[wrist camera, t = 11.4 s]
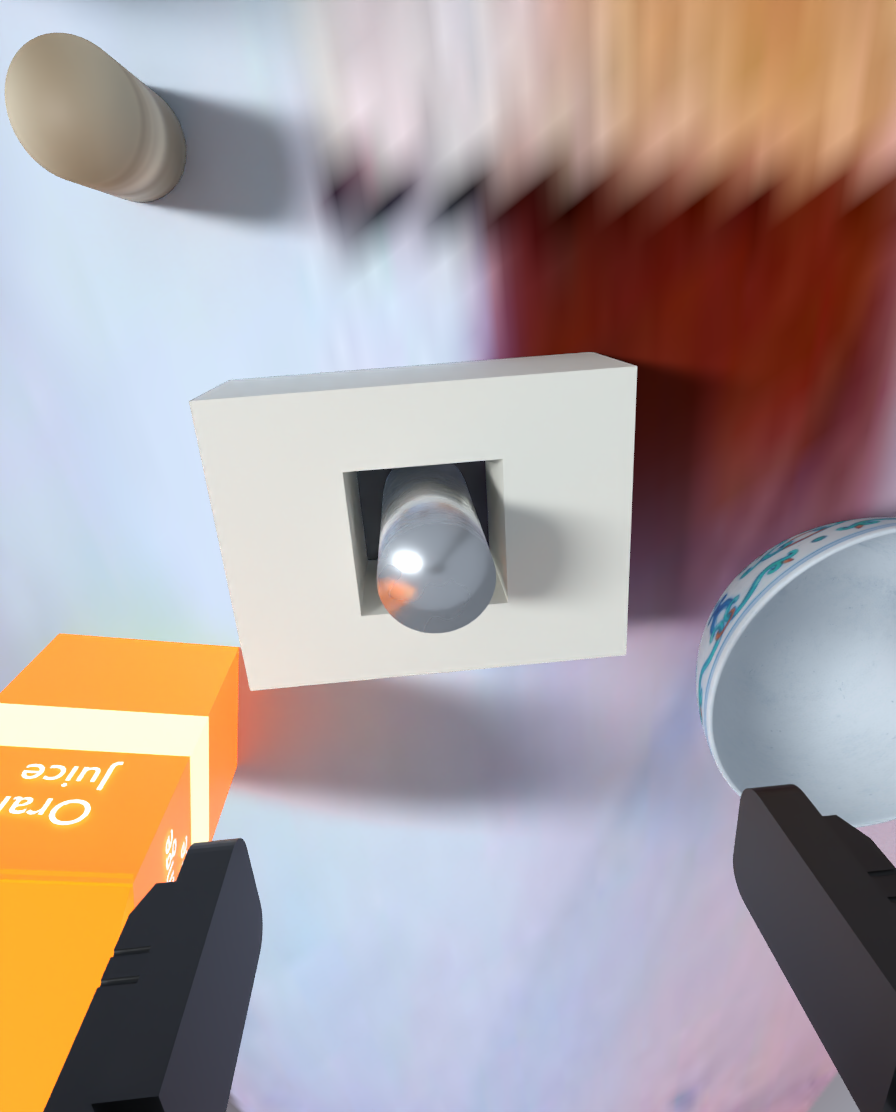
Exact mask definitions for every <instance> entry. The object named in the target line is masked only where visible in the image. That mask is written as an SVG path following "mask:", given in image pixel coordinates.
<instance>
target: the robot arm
mask: <svg viewBox="0 0 896 1112" xmlns="http://www.w3.org/2000/svg"><path fill="white" fill-rule="evenodd" d="M733 868H734V874H735V879H736V883H737V886H738V889H739V892H740V895H741V897H742V899H743V901H744V903H745V905H746V907H747V908H748V910H749V912H750V914H751V916H752V917H753V919H754V921H755V923H756V925H757V926H758V928H759V930H760V932H761V934H762V935H763V937H764V939H765V941H766V943H767V944H768V946H769V948H770V950H771V952H772V953H773V955H774V957H775V959H776V961H777V962H778V964H779V966H780V968H781V970H782V971H783V973H784V975H785V977H786V979H787V980H788V982H789V984H790V986H791V988H792V989H793V991H794V993H795V995H796V997H797V998H798V1000H799V1002H800V1004H801V1006H802V1007H803V1009H804V1011H805V1013H806V1015H807V1016H808V1018H809V1020H810V1022H811V1024H812V1025H813V1027H814V1029H815V1031H816V1033H817V1034H818V1036H819V1038H820V1040H821V1042H822V1043H823V1045H824V1047H825V1049H826V1051H827V1052H828V1054H829V1056H830V1058H831V1060H832V1061H833V1063H834V1065H835V1067H836V1069H837V1070H838V1072H839V1074H840V1076H841V1078H842V1079H843V1081H844V1083H845V1085H846V1086H847V1088H848V1090H849V1092H850V1094H851V1096H852V1097H853V1099H854V1101H855V1102H856V1105H857V1106H858V1108H859V1110H860V1112H896V868H895V867H894V866H893V864H892V863H891V862H890V861H889V860H888V859H887V857H886V856H885V855H884V854H883V853H882V851H881V850H880V849H879V848H878V847H877V846H876V844H875V843H874V842H873V841H872V840H871V839H870V838H869V837H867V836H866V835H865V834H863V833H862V832H860V831H859V830H857V829H856V828H855V827H853V826H852V825H850V824H849V823H847V822H846V821H845V820H843V819H842V818H840V817H839V816H837V815H829V816H822V815H821V814H820V812H819V811H818V810H817V809H816V807H815V806H814V805H813V804H812V802H811V801H810V800H809V799H808V797H807V796H806V795H805V793H804V792H803V791H802V790H801V789H800V788H799V787H798V786H796V785H794V784H785V785H775V786H765V787H756V788H747V789H745V790H744V791H743V792H742V794H741V799H740V806H739V814H738V822H737V830H736V838H735V846H734V854H733ZM261 943H262V910H261V904H260V900H259V896H258V892H257V888H256V884H255V879H254V875H253V871H252V867H251V863H250V859H249V855H248V851H247V847H246V844H245V842H244V840H243V839H242V838H238V839H228V840H218V841H208V842H199V843H193V844H192V845H191V846H190V847H189V849H188V851H187V853H186V856H185V859H184V861H183V864H182V866H181V869H180V872H179V874H178V877H177V880H176V881H174V882H164V883H156V884H155V885H154V886H153V887H152V888H151V890H150V891H149V892H148V893H147V894H146V895H145V897H144V898H143V899H142V900H141V901H140V902H139V904H138V905H137V906H136V907H135V908H134V909H133V911H132V912H131V913H130V914H129V916H128V918H127V921H126V923H125V925H124V927H123V930H122V932H121V934H120V937H119V939H118V941H117V943H116V946H115V948H114V955H113V957H110V960H109V962H108V964H107V966H106V969H105V971H104V973H103V976H102V978H101V985H100V987H97V989H96V992H95V994H94V996H93V999H92V1001H91V1003H90V1005H89V1008H88V1010H87V1012H86V1015H85V1017H84V1019H83V1021H82V1024H81V1026H80V1028H79V1031H78V1033H77V1035H76V1037H75V1040H74V1042H73V1044H72V1047H71V1049H70V1051H69V1054H68V1056H67V1058H66V1060H65V1063H64V1065H63V1067H62V1070H61V1072H60V1074H59V1076H58V1079H57V1081H56V1083H55V1086H54V1088H53V1090H52V1093H51V1095H50V1097H49V1099H48V1102H47V1104H46V1106H45V1108H44V1110H43V1112H226V1108H227V1104H228V1099H229V1095H230V1090H231V1085H232V1081H233V1076H234V1071H235V1067H236V1062H237V1057H238V1053H239V1048H240V1043H241V1039H242V1034H243V1029H244V1025H245V1020H246V1015H247V1011H248V1006H249V1001H250V997H251V992H252V987H253V983H254V978H255V973H256V969H257V964H258V959H259V955H260V949H261Z"/></svg>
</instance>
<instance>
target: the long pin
mask: <svg viewBox="0 0 896 1112" xmlns="http://www.w3.org/2000/svg"><path fill="white" fill-rule="evenodd" d="M495 585H496V569H495V565H494V561H493V558H492V555H491V552H490V550H489V547H488V544H487V541H486V538H485V535H484V533H483V530H482V527H481V524H480V521H479V519H478V516H477V513H476V510H475V507H474V504H473V502H472V499H471V496H470V493H469V490H468V488H467V485H466V482H465V480H464V477H463V475H462V474H461V472H460V471H459V469H458V468H457V467H456V466H455V465H454V464H453V463H449V464H437V465H425V466H413V467H401V468H393V469H392V471H391V472H390V473H389V475H388V477H387V479H386V482H385V485H384V490H383V502H382V514H381V527H380V540H379V553H378V566H377V589H378V594H379V597H380V599H381V601H382V603H383V605H384V607H385V608H386V610H387V611H388V612H389V614H390V615H391V616H392V617H393V618H394V619H396V620H397V621H398V622H399V623H401V624H403V625H404V626H406V627H408V628H410V629H413V630H416V631H419V632H424V633H445V632H450V631H454V630H457V629H460V628H462V627H464V626H466V625H468V624H470V623H471V622H472V621H474V620H475V619H476V618H477V617H478V616H480V615H481V614H482V612H483V611H484V610H485V609H486V607H487V606H488V604H489V603H490V601H491V598H492V596H493V593H494V590H495Z"/></svg>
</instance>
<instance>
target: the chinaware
mask: <svg viewBox="0 0 896 1112" xmlns="http://www.w3.org/2000/svg"><path fill="white" fill-rule="evenodd" d="M696 692H697V701H698V708H699V714H700V718H701V722H702V726H703V730H704V733H705V737H706V740H707V743H708V745H709V748H710V751H711V754H712V756H713V758H714V760H715V763H716V765H717V767H718V769H719V770H720V772H721V774H722V775H723V777H724V778H725V780H726V781H727V783H728V784H729V785H730V786H731V788H732V789H733V790H734V791H735V792H736V793H737V794H738V795H739V796H740V797H741V794H742V792H743V791H744V790H745V789H747V788H756V787H765V786H775V785H785V784H794V785H796V786H798V787H799V788H800V789H801V790H802V791H803V792H804V793H805V795H806V796H807V797H808V799H809V800H810V801H811V802H812V804H813V805H814V806H815V807H816V809H817V810H818V811H819V812H820V814H821V815H822V816H829V815H837V816H839V817H840V818H842V819H843V820H845V821H846V822H847V823H849V824H850V825H852V826H853V827H855V828H856V827H864V826H870V825H875V824H879V823H883V822H887V821H891V820H894V819H896V517H874V518H861V519H853V520H846V521H841V522H836V523H832V524H828V525H824V526H820V527H817V528H814V529H811V530H808V531H805V532H803V533H800V534H798V535H795V536H793V537H791V538H789V539H787V540H785V541H783V542H781V543H779V544H777V545H776V546H774V547H772V548H771V549H769V550H768V551H766V552H765V553H763V554H762V555H760V556H759V557H758V558H756V559H755V560H754V561H753V562H751V563H750V564H749V565H748V566H747V567H746V568H745V569H744V570H743V571H741V572H740V573H739V574H738V576H737V577H736V578H735V579H734V580H733V581H732V582H731V583H730V585H729V586H728V587H727V588H726V590H725V591H724V592H723V594H722V595H721V597H720V598H719V600H718V602H717V603H716V605H715V607H714V608H713V610H712V612H711V614H710V617H709V619H708V621H707V623H706V626H705V629H704V632H703V635H702V638H701V642H700V646H699V651H698V657H697V666H696Z"/></svg>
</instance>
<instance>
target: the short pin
mask: <svg viewBox="0 0 896 1112" xmlns="http://www.w3.org/2000/svg"><path fill="white" fill-rule="evenodd" d="M5 103H6V109H7V113H8V117H9V120H10V123H11V126H12V128H13V130H14V132H15V134H16V136H17V138H18V140H19V141H20V143H21V144H22V146H23V147H24V148H25V150H26V151H27V152H28V153H29V155H30V156H31V157H32V158H33V159H34V160H35V161H36V162H37V163H38V164H40V165H41V166H42V167H43V168H45V169H46V170H47V171H49V172H51V173H53V174H54V175H56V176H58V177H61V178H63V179H65V180H68V181H71V182H74V183H77V184H80V185H83V186H86V187H89V188H92V189H95V190H98V191H101V192H104V193H107V194H110V195H113V196H116V197H119V198H122V199H125V200H129V201H134V202H150V201H154V200H157V199H159V198H162V197H164V196H165V195H166V194H168V193H169V192H170V191H171V190H172V189H173V188H174V187H175V186H176V185H177V183H178V182H179V180H180V178H181V176H182V173H183V171H184V167H185V162H186V144H185V138H184V134H183V131H182V128H181V125H180V123H179V121H178V119H177V117H176V115H175V114H174V112H173V111H172V109H171V108H170V107H169V105H168V104H167V103H166V102H165V101H164V100H163V99H162V98H161V97H160V96H159V95H157V94H156V93H155V92H154V91H152V90H151V89H150V88H149V87H147V86H146V85H145V84H144V83H143V82H141V81H140V80H139V79H138V78H136V77H135V76H134V75H133V74H132V73H130V72H129V71H128V70H127V69H125V68H124V67H123V66H122V65H120V64H119V63H118V62H117V61H116V60H114V59H113V58H112V57H111V56H109V55H108V54H107V53H106V52H104V51H103V50H102V49H101V48H99V47H98V46H96V45H95V44H93V43H92V42H90V41H88V40H86V39H84V38H82V37H78V36H75V35H72V34H66V33H49V34H44V35H41V36H38V37H36V38H34V39H32V40H30V41H29V42H27V43H26V44H25V45H23V46H22V47H21V49H20V50H19V51H18V52H17V53H16V55H15V56H14V58H13V59H12V62H11V64H10V66H9V69H8V72H7V75H6V82H5Z"/></svg>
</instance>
